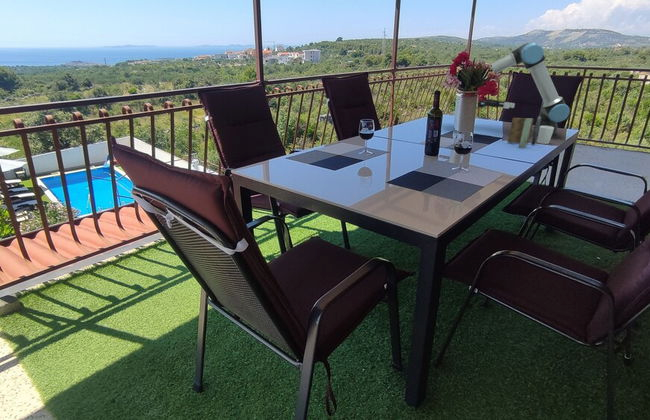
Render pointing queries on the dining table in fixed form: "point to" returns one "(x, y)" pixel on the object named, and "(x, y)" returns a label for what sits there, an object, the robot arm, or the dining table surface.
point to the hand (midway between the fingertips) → (511, 106)
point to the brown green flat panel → (518, 130)
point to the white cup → (545, 134)
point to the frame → (526, 132)
